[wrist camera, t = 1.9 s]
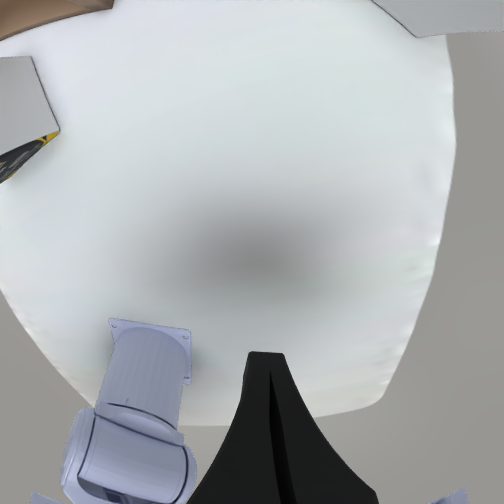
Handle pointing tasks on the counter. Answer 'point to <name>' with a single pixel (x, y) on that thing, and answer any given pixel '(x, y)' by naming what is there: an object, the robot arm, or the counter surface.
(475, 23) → the milk carton
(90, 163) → the counter surface
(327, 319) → the counter surface
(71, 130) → the counter surface
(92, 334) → the counter surface
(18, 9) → the wooden tray
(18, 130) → the medicine bottle
